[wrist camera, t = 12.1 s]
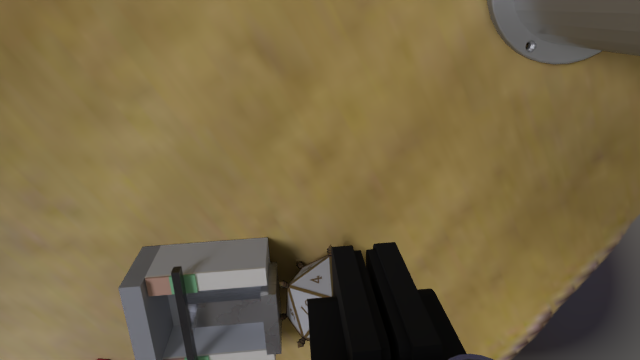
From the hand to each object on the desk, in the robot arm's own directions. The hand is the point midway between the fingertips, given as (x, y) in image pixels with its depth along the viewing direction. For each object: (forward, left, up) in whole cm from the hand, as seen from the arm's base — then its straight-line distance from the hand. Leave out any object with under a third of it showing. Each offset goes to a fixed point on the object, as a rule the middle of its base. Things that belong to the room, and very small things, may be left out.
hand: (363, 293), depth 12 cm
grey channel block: (+8, +17, -26) cm, 32 cm away
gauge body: (+10, +17, -27) cm, 34 cm away
